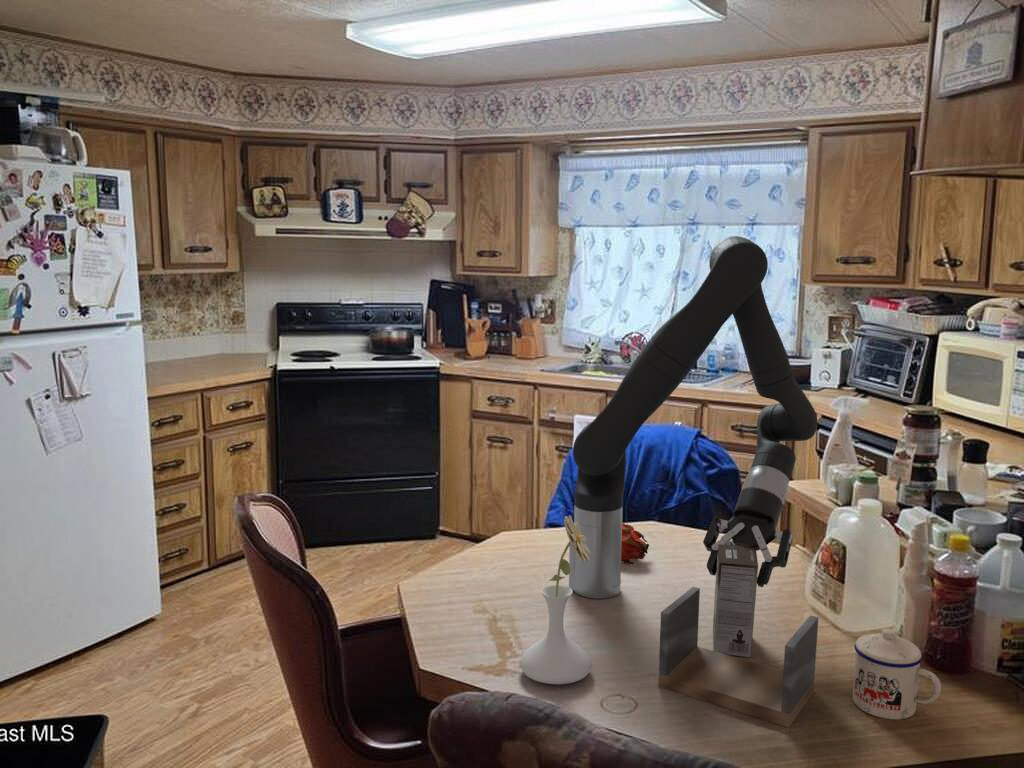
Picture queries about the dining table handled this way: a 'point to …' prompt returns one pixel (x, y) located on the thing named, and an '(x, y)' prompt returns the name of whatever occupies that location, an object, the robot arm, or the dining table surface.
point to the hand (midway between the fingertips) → (735, 579)
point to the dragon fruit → (632, 545)
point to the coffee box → (735, 599)
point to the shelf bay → (735, 668)
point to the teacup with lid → (889, 676)
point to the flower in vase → (559, 627)
